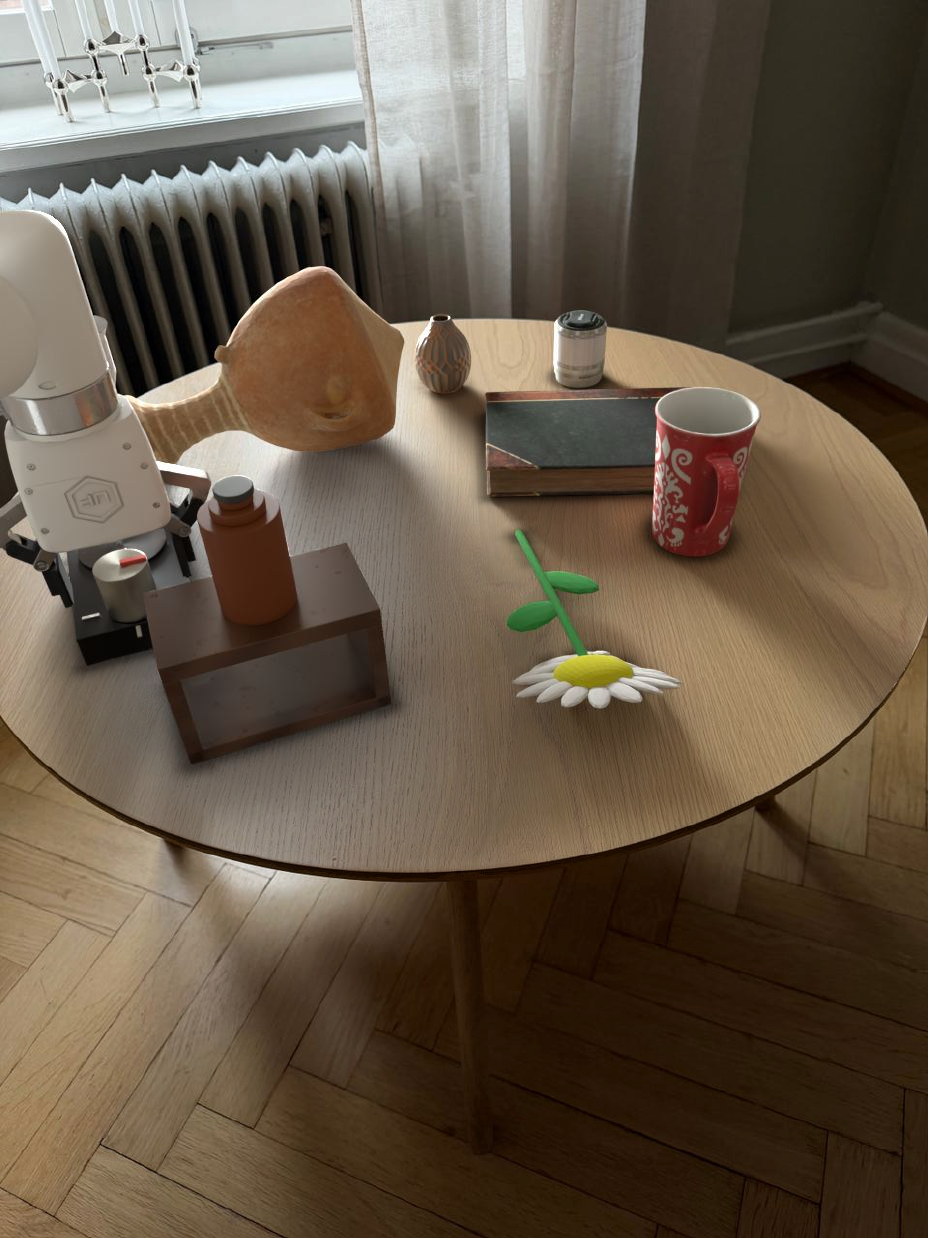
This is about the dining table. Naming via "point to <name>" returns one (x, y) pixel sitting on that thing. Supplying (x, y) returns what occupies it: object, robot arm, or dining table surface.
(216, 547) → the bottle
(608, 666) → the decorative flower
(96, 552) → the burner
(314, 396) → the jug
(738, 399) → the mug
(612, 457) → the book
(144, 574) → the stove knob
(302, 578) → the shelf
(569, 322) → the camera lens
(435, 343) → the vase
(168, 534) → the stove
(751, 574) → the dining table surface
